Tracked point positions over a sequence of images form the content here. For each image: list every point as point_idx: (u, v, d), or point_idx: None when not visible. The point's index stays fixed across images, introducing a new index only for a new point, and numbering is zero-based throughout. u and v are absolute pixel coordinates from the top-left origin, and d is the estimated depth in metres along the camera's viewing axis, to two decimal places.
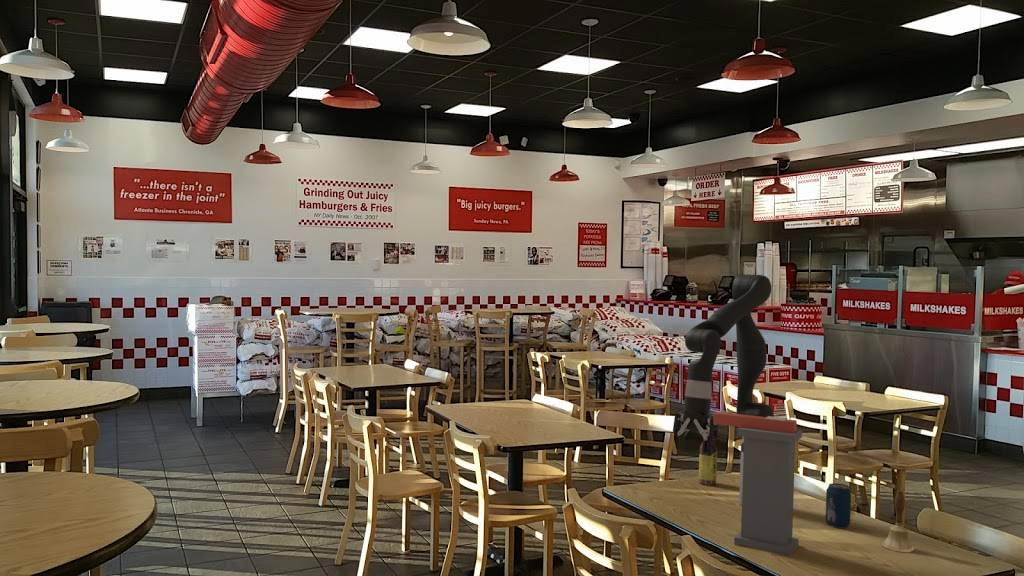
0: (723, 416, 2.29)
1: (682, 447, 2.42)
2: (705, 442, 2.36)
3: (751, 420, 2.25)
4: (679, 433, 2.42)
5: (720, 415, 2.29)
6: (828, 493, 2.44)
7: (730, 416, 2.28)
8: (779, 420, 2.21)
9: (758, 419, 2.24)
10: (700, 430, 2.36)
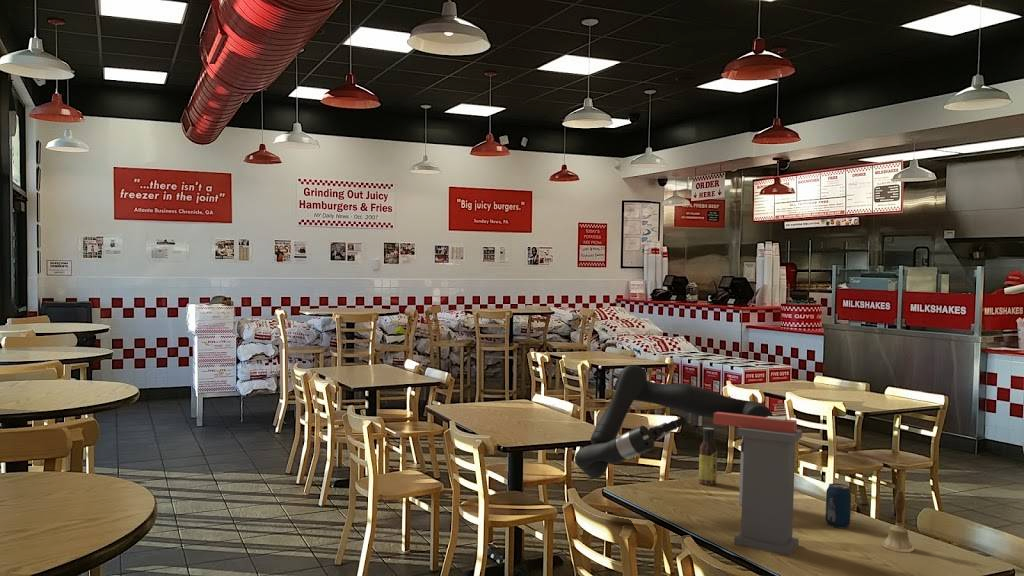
0: (723, 416, 2.29)
1: (683, 420, 2.40)
2: (667, 431, 2.34)
3: (751, 420, 2.25)
4: (674, 429, 2.42)
5: (720, 415, 2.29)
6: (828, 493, 2.44)
7: (730, 416, 2.28)
8: (779, 420, 2.21)
9: (758, 419, 2.24)
10: (660, 437, 2.37)
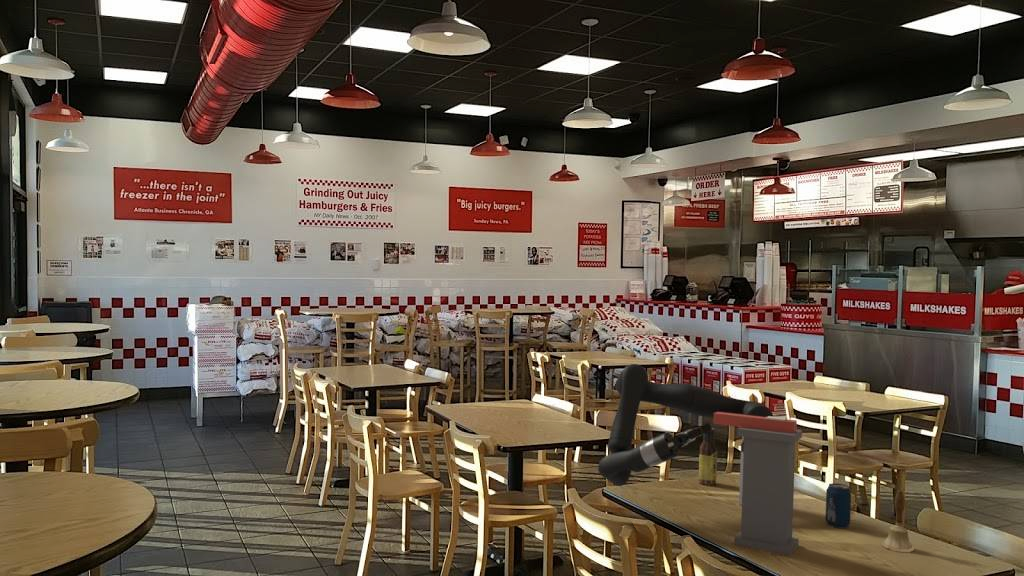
0: (723, 416, 2.29)
1: (709, 426, 2.36)
2: (692, 437, 2.30)
3: (751, 420, 2.25)
4: (699, 435, 2.39)
5: (720, 415, 2.29)
6: (828, 493, 2.44)
7: (730, 416, 2.28)
8: (779, 420, 2.21)
9: (758, 419, 2.24)
10: (686, 444, 2.33)
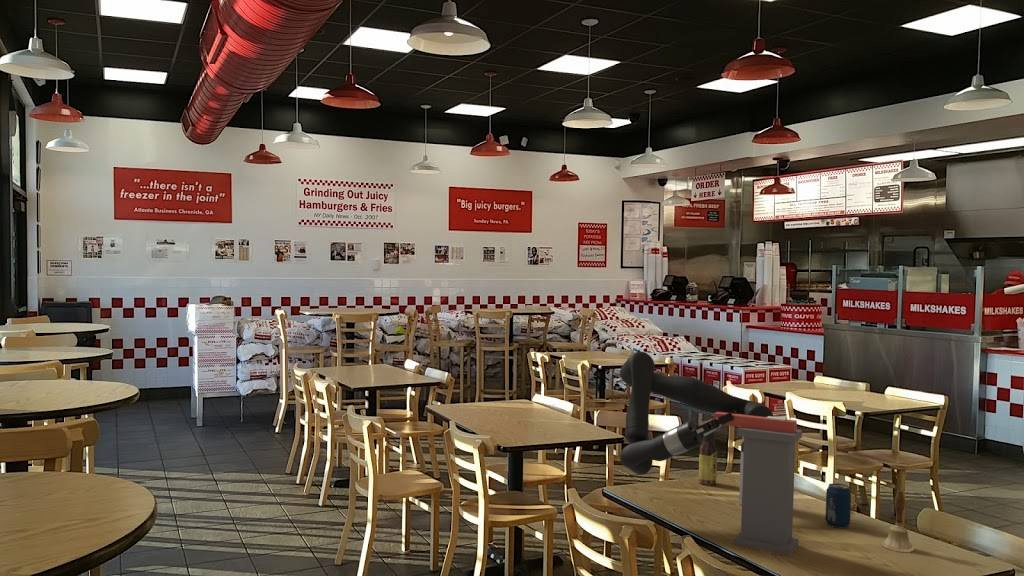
0: None
1: None
2: (723, 423, 2.28)
3: (751, 420, 2.25)
4: None
5: (720, 415, 2.29)
6: (828, 493, 2.44)
7: None
8: (779, 420, 2.21)
9: (758, 419, 2.24)
10: None
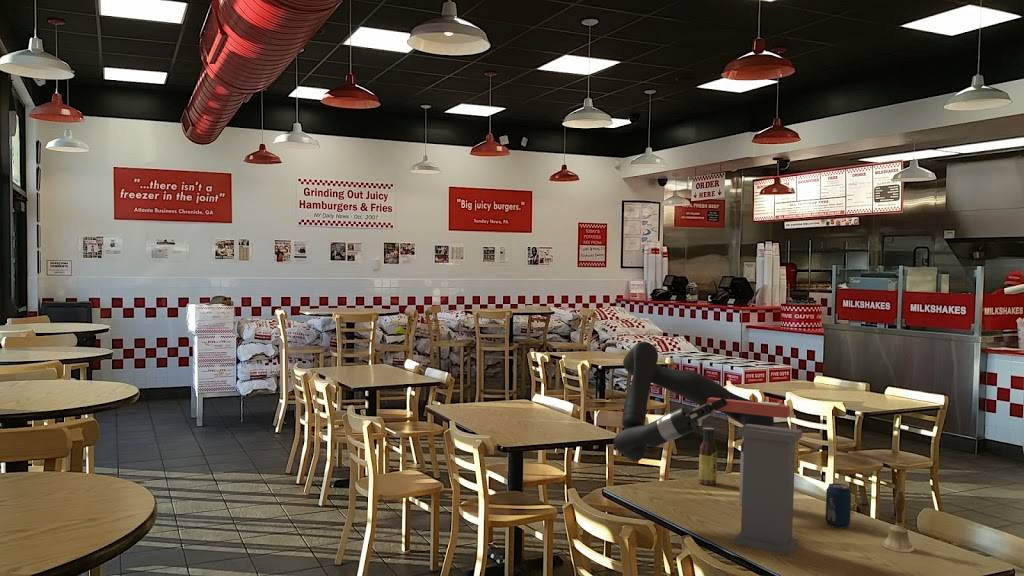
0: None
1: None
2: (717, 408, 2.29)
3: (744, 405, 2.25)
4: None
5: (714, 400, 2.30)
6: (828, 493, 2.44)
7: None
8: (772, 405, 2.22)
9: (751, 404, 2.24)
10: (707, 416, 2.31)
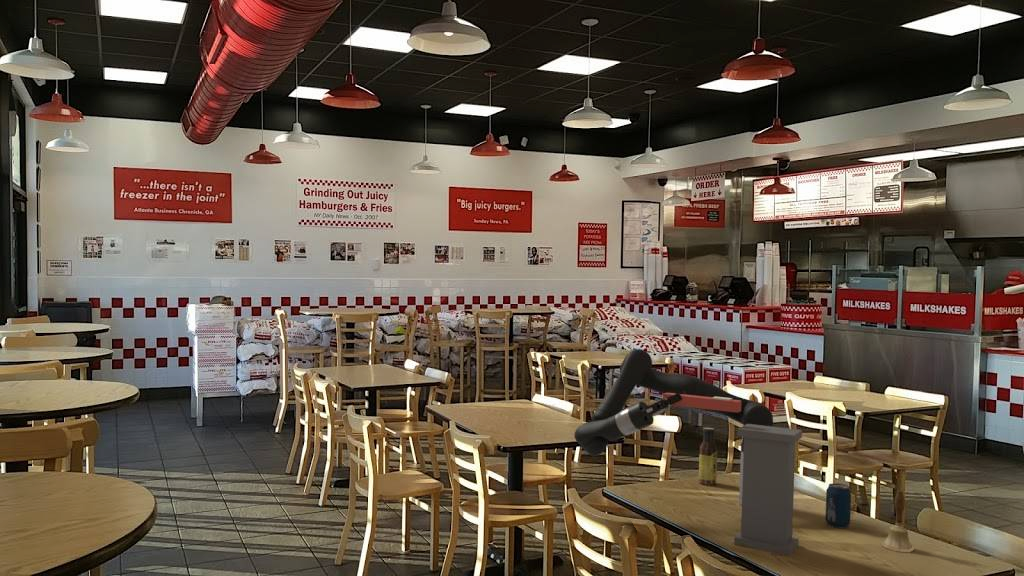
0: None
1: None
2: (672, 403, 2.36)
3: (698, 400, 2.32)
4: None
5: (669, 395, 2.37)
6: (828, 493, 2.44)
7: None
8: (724, 400, 2.29)
9: (705, 399, 2.31)
10: None
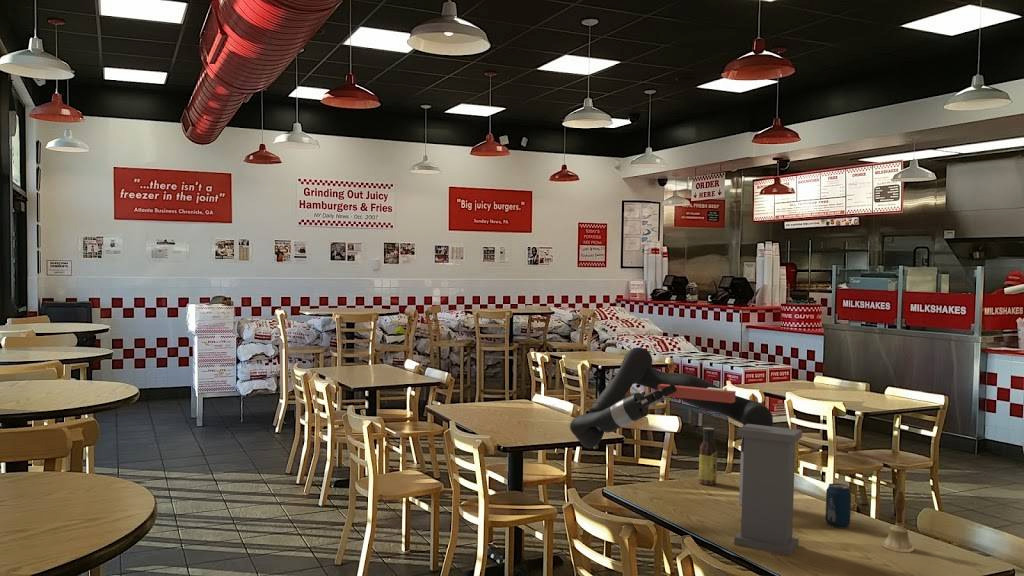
0: None
1: None
2: (666, 394, 2.37)
3: (692, 391, 2.33)
4: None
5: (664, 387, 2.38)
6: (828, 493, 2.44)
7: None
8: (718, 391, 2.29)
9: (699, 390, 2.32)
10: (657, 402, 2.38)
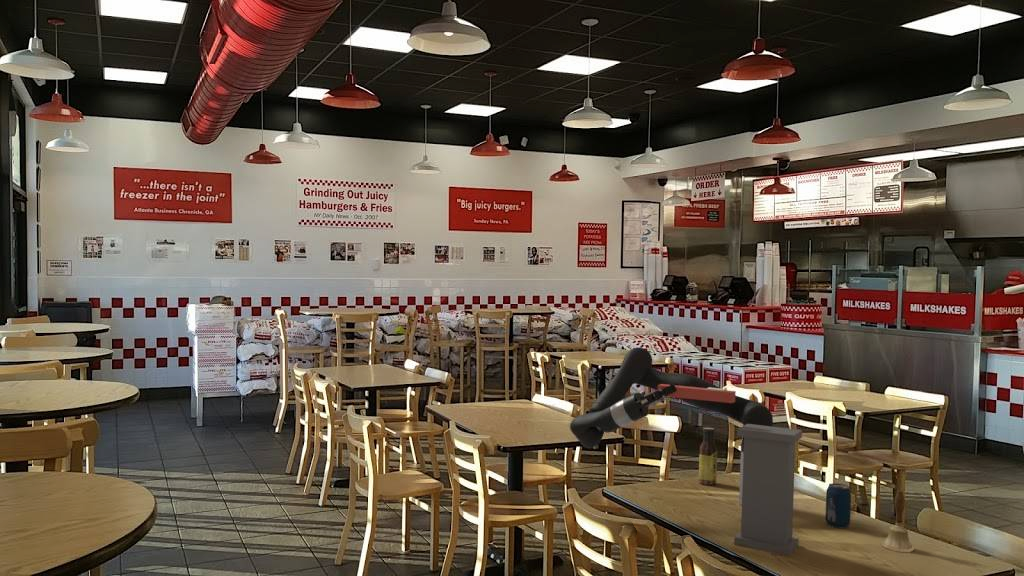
0: None
1: None
2: (666, 394, 2.37)
3: (692, 391, 2.33)
4: None
5: (664, 387, 2.38)
6: (828, 493, 2.44)
7: None
8: (718, 391, 2.29)
9: (699, 390, 2.32)
10: (657, 402, 2.38)
